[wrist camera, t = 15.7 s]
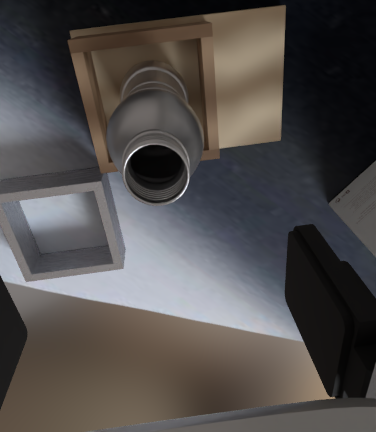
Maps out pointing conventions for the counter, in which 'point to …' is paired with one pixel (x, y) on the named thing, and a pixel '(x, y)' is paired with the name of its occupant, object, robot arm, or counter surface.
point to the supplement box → (360, 207)
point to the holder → (68, 260)
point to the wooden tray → (192, 72)
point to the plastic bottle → (154, 134)
